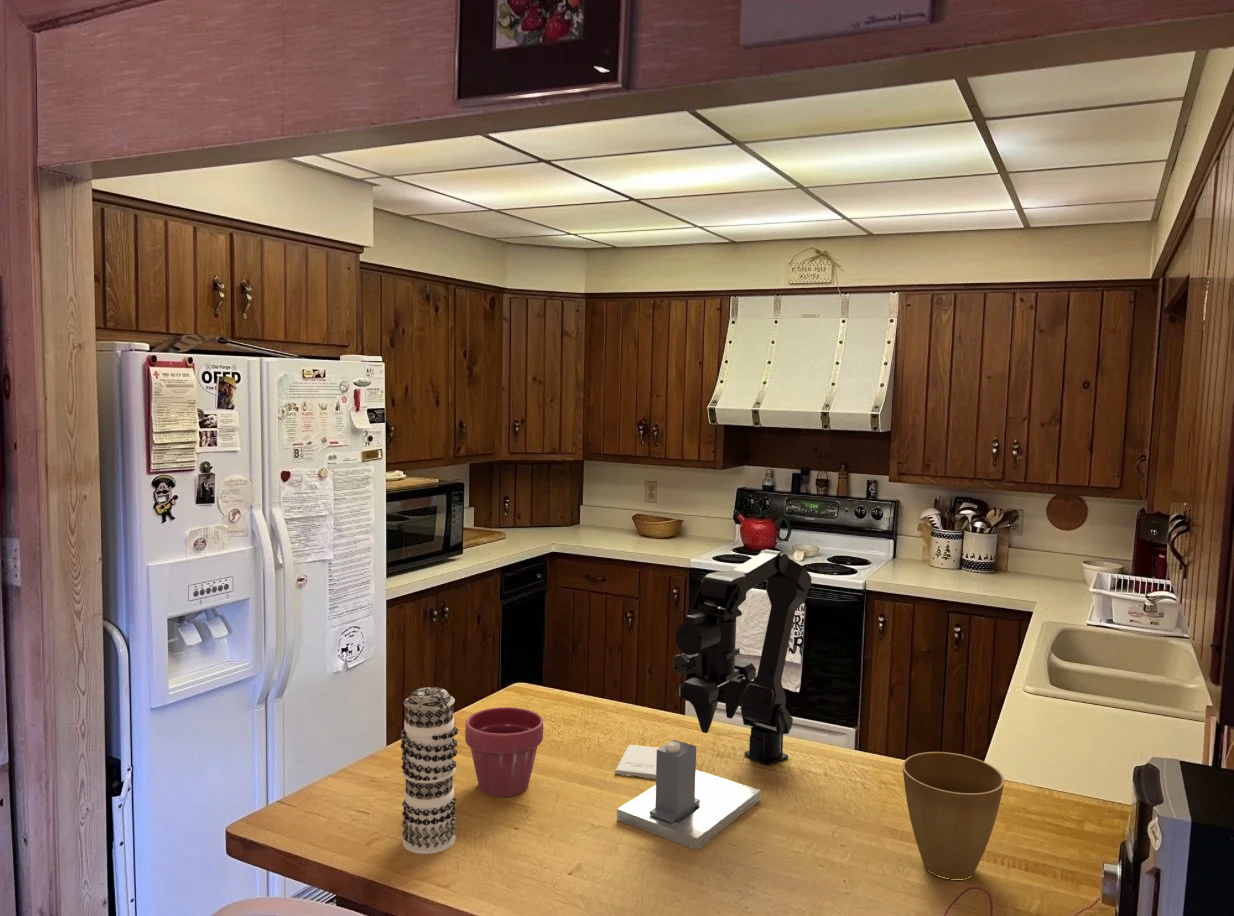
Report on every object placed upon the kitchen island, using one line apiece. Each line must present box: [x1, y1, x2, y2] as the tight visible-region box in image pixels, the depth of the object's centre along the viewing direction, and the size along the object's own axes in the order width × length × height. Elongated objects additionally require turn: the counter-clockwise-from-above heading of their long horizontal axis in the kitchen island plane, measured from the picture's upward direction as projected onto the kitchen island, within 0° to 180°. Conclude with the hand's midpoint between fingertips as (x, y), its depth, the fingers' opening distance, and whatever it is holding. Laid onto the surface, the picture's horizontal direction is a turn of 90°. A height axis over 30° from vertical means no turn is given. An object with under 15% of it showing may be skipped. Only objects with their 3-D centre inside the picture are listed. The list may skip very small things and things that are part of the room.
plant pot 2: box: [902, 751, 1005, 879], centre depth 143 cm, size 15×15×16 cm
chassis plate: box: [616, 769, 761, 851], centre depth 161 cm, size 22×16×2 cm
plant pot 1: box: [464, 706, 544, 798], centre depth 168 cm, size 14×14×13 cm
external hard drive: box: [614, 744, 660, 780], centre depth 180 cm, size 2×8×12 cm
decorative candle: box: [400, 686, 459, 855], centre depth 148 cm, size 9×9×25 cm
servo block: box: [649, 739, 700, 823], centre depth 156 cm, size 9×4×14 cm, turn 143°
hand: (717, 725), depth 169 cm, fingers open, 9 cm apart
